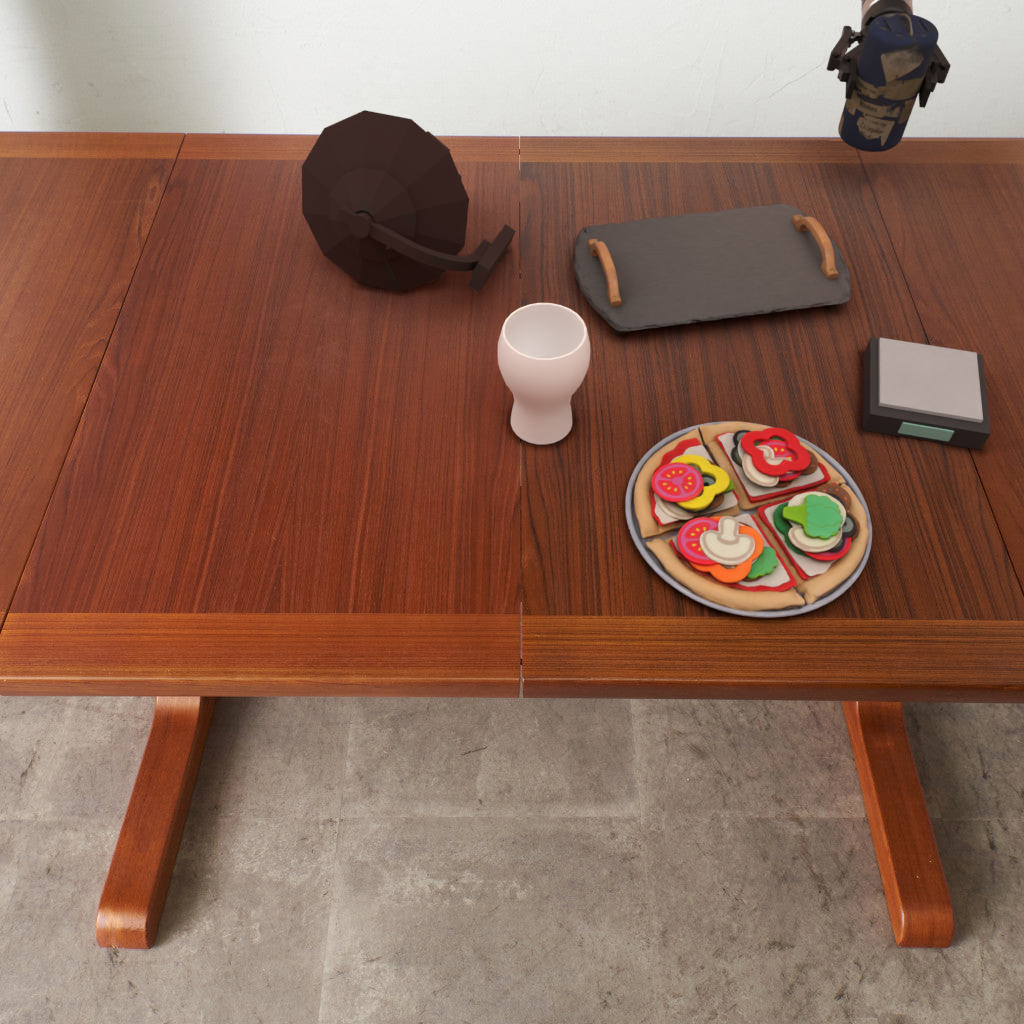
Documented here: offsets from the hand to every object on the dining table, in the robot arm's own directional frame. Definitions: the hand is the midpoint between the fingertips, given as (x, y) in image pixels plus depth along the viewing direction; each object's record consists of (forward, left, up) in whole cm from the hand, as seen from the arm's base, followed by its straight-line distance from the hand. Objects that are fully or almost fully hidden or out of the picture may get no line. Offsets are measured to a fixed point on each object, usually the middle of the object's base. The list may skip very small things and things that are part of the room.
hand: (888, 93), depth 127 cm
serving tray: (+20, +25, -17) cm, 36 cm away
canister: (0, -4, -10) cm, 11 cm away
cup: (+37, +58, -17) cm, 71 cm away
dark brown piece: (+61, +30, -17) cm, 70 cm away
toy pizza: (+11, +67, -17) cm, 70 cm away
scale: (-9, +43, -17) cm, 47 cm away
